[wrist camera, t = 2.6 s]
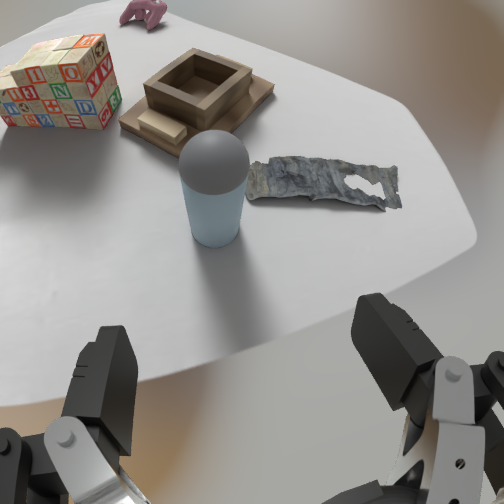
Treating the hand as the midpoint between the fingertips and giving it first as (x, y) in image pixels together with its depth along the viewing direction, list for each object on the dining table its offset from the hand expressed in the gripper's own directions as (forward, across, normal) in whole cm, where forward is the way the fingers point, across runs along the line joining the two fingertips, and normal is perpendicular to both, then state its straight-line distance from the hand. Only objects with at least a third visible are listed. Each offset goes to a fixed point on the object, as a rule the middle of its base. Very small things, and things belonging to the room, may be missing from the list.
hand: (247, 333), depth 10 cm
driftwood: (+25, +13, -2) cm, 28 cm away
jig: (+34, -1, +8) cm, 35 cm away
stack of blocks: (+37, -23, +11) cm, 45 cm away
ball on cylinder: (+22, 0, -5) cm, 22 cm away
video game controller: (+54, -12, +28) cm, 63 cm away
